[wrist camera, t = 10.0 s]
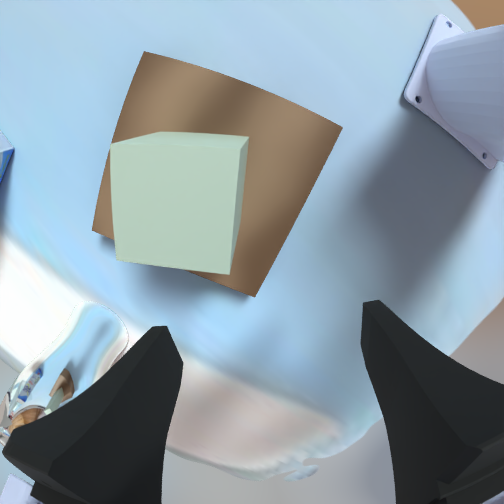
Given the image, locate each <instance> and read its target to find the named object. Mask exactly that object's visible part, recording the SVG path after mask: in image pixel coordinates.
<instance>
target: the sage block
mask: <svg viewBox="0 0 504 504" xmlns="http://www.w3.org/2000/svg"><path fill="white" fill-rule="evenodd" d="M248 143H249V137H246V136H235V135H223V134H209V133H190V132H156V133H152V134H148V135H144V136H139V137H135V138H131V139H128V140H124V141H120V142H116V143H113V144H110V174H111V200H112V217H113V229H114V240H115V250H116V259H117V261H125V262H132V263H139V264H147V265H154V266H162V267H170V268H178V269H186V270H194V271H202V272H210V273H219V274H227V275H229V274H230V269H231V265H232V260H233V255H234V250H235V246H236V241H237V236H238V232H239V227H240V222H241V212H242V202H243V192H244V182H245V172H246V162H247V153H248Z"/></svg>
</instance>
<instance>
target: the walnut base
mask: <svg viewBox="0 0 504 504" xmlns="http://www.w3.org/2000/svg"><path fill="white" fill-rule="evenodd" d="M342 128H343V127H341V126H339V125H337V124H336V123H334V122H332V121H330V120H328V119H326V118H324V117H322V116H320V115H318V114H316V113H314V112H312V111H310V110H308V109H306V108H304V107H302V106H299V105H297V104H295V103H293V102H291V101H289V100H286V99H284V98H282V97H280V96H277V95H275V94H273V93H270V92H268V91H265V90H263V89H261V88H258V87H256V86H253V85H251V84H248V83H245V82H243V81H240V80H238V79H235V78H232V77H229V76H227V75H224V74H221V73H218V72H215V71H212V70H209V69H206V68H203V67H200V66H196V65H193V64H190V63H187V62H183V61H180V60H176V59H172V58H169V57H165V56H161V55H157V54H153V53H149V52H145V51H144V53H143V55H142V57H141V60H140V62H139V65H138V67H137V69H136V72H135V74H134V77H133V80H132V82H131V85H130V88H129V90H128V93H127V96H126V99H125V101H124V104H123V107H122V110H121V113H120V116H119V119H118V122H117V126H116V129H115V132H114V136H113V139H112V142H111V144H113V143H116V142H120V141H124V140H128V139H131V138H135V137H139V136H144V135H148V134H152V133H156V132H190V133H209V134H223V135H235V136H246V137H249V143H248V153H247V162H246V172H245V182H244V192H243V202H242V212H241V222H240V227H239V232H238V236H237V241H236V246H235V250H234V255H233V260H232V265H231V269H230V274H229V275H227V274H219V273H210V272H202V271H194V270H186V269H184V270H186V271H188V272H191V273H193V274H196V275H198V276H201V277H203V278H206V279H208V280H211V281H214V282H216V283H219V284H221V285H224V286H226V287H229V288H231V289H234V290H237V291H239V292H242V293H245V294H247V295H250V296H252V297H255V296H256V294H257V292H258V291H259V289H260V287H261V285H262V283H263V281H264V280H265V278H266V276H267V274H268V272H269V270H270V268H271V266H272V265H273V263H274V261H275V259H276V257H277V255H278V253H279V251H280V250H281V248H282V246H283V244H284V242H285V240H286V238H287V236H288V234H289V232H290V231H291V229H292V227H293V225H294V223H295V221H296V219H297V217H298V215H299V213H300V211H301V209H302V207H303V206H304V204H305V202H306V200H307V198H308V196H309V194H310V192H311V190H312V188H313V186H314V184H315V182H316V180H317V178H318V176H319V174H320V172H321V170H322V168H323V166H324V164H325V162H326V160H327V158H328V156H329V154H330V153H331V151H332V149H333V147H334V144H335V142H336V140H337V138H338V136H339V134H340V132H341V130H342ZM92 231H95V232H97V233H99V234H101V235H104V236H106V237H108V238H110V239H113V240H114V229H113V217H112V200H111V174H110V150H109V153H108V157H107V161H106V165H105V169H104V173H103V177H102V181H101V186H100V190H99V195H98V200H97V205H96V210H95V215H94V221H93V226H92Z"/></svg>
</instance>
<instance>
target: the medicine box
mask: <svg viewBox="0 0 504 504" xmlns="http://www.w3.org/2000/svg"><path fill="white" fill-rule="evenodd" d="M13 150H14V147H13V146H12V144H11V143H10V142H9V140H8V139H7V138H6V136H5V135H4V134H3V133H2V131H1V130H0V183H1V180H2V178H3V175H4V172H5V170H6V167H7V165H8V162H9V160H10V157H11V155H12V152H13Z"/></svg>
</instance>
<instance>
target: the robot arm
mask: <svg viewBox="0 0 504 504" xmlns="http://www.w3.org/2000/svg"><path fill="white" fill-rule="evenodd" d="M446 23H447V24H448V25H449V27H448V26H447V25H446ZM416 96H418V98H419V102H418V103H417V102H416V100H415V97H416ZM404 97H405V99H406V100H407V101H408V102H409V103H411V104H412V105H413V106H415V107H416V108H418V109H419V110H420V111H422V112H423V113H424V114H426V115H427V116H428V117H430V118H431V119H432V120H433V121H435V122H436V123H437V124H439V125H440V126H441V127H442V128H443V129H445V130H446V131H447V132H448V133H450V134H451V135H452V136H453V137H454V138H455V139H457V140H458V141H459V142H460V143H461V144H462V145H463V146H465V147H466V148H467V149H468V150H469V151H470V152H471V153H472V154H473V155H474V156H475V157H477V158H478V159H479V160H480V161H481V162H482V163H483V164H484V165H485V166H486V167H487V168H489V169H493V168H494V167H495V165H496V163H497V160H499V161H502V162H504V24H503V25H498V26H493V27H488V28H483V29H479V30H475V31H471V32H467V33H465V32H464V31H463V30H461V29H460V28H459V27H458V26H457V25H456V24H454V23H453V22H452V21H451V20H450V19H448V18H447V17H446V16H444V15H443V14H439V15H437V16H436V17H435V19H434V22H433V25H432V27H431V30H430V32H429V35H428V37H427V40H426V42H425V45H424V47H423V49H422V52H421V54H420V57H419V59H418V61H417V64H416V66H415V68H414V70H413V73H412V75H411V77H410V79H409V82H408V84H407V86H406V88H405V91H404ZM483 153H484V157H482V155H483ZM361 348H362V352H363V357H364V361H365V365H366V369H367V371H368V374H369V377H370V380H371V383H372V385H373V388H374V391H375V394H376V397H377V399H378V402H379V405H380V408H381V411H382V414H383V417H384V421H385V425H386V429H387V434H388V440H389V444H390V451H391V457H392V464H393V471H394V482H395V493H396V504H504V385H503V384H501V383H498V382H496V381H493V380H491V379H489V378H486V377H484V376H482V375H480V374H478V373H476V372H474V371H472V370H470V369H468V368H466V367H465V366H463V365H461V364H460V363H458V362H456V361H455V360H453V359H451V358H450V357H448V356H447V355H445V354H444V353H442V352H441V351H439V350H438V349H437V348H435V347H434V346H433V345H431V344H430V343H429V342H427V341H426V340H425V339H423V338H422V337H421V336H420V335H418V334H417V333H416V332H415V331H414V330H413V329H411V328H410V327H409V326H408V325H407V324H406V323H404V322H403V321H402V320H401V319H400V318H399V317H398V316H397V315H395V314H394V313H393V312H392V311H391V310H390V309H389V308H388V307H387V306H386V305H384V304H383V303H382V302H381V301H380V300H375V301H370V302H364V303H363V314H362V331H361ZM182 370H183V361H182V359H181V357H180V354H179V352H178V350H177V348H176V346H175V343H174V341H173V339H172V337H171V334H170V332H169V330H168V327H167V326H154V327H152V328H151V329H149V330H148V331H147V332H146V333H145V334H144V335H143V336H142V337H141V338H140V339H139V340H138V341H137V342H136V343H135V344H134V345H133V346H132V347H131V348H130V350H129V351H128V352H127V353H126V354H125V355H124V356H123V357H122V358H121V359H120V360H119V361H118V362H117V363H116V364H114V365H113V366H112V367H111V368H110V369H109V370H108V371H107V372H106V373H105V374H104V375H103V376H102V377H101V378H100V379H98V380H97V381H96V382H95V383H94V384H92V385H91V386H90V387H89V388H87V389H86V390H85V391H84V392H82V393H81V394H80V395H78V396H77V397H75V398H74V399H72V400H71V401H69V402H68V403H66V404H65V405H63V406H62V407H60V408H58V409H57V410H55V411H53V412H51V413H49V414H48V415H46V416H44V417H42V418H40V419H37V420H35V421H33V422H30V423H28V424H25V425H23V426H20V427H18V428H15V429H13V431H12V433H11V435H10V437H9V439H8V441H7V443H6V445H5V447H4V449H3V451H2V453H3V455H4V457H5V458H6V459H7V460H8V461H9V462H11V463H12V464H13V465H14V466H16V467H17V468H18V469H19V470H21V471H22V472H23V473H25V474H26V475H27V476H29V477H30V478H31V479H33V480H34V481H35V483H34V485H33V486H32V485H31V484H29V483H28V482H26V481H24V480H22V479H20V478H19V477H17V476H15V475H14V474H10V475H9V477H8V479H7V482H6V484H5V486H4V489H3V491H2V494H1V496H0V504H162V503H161V496H162V493H161V492H162V473H163V461H164V453H165V445H166V439H167V434H168V430H169V426H170V423H171V419H172V415H173V412H174V408H175V404H176V401H177V397H178V393H179V389H180V385H181V378H182Z"/></svg>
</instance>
